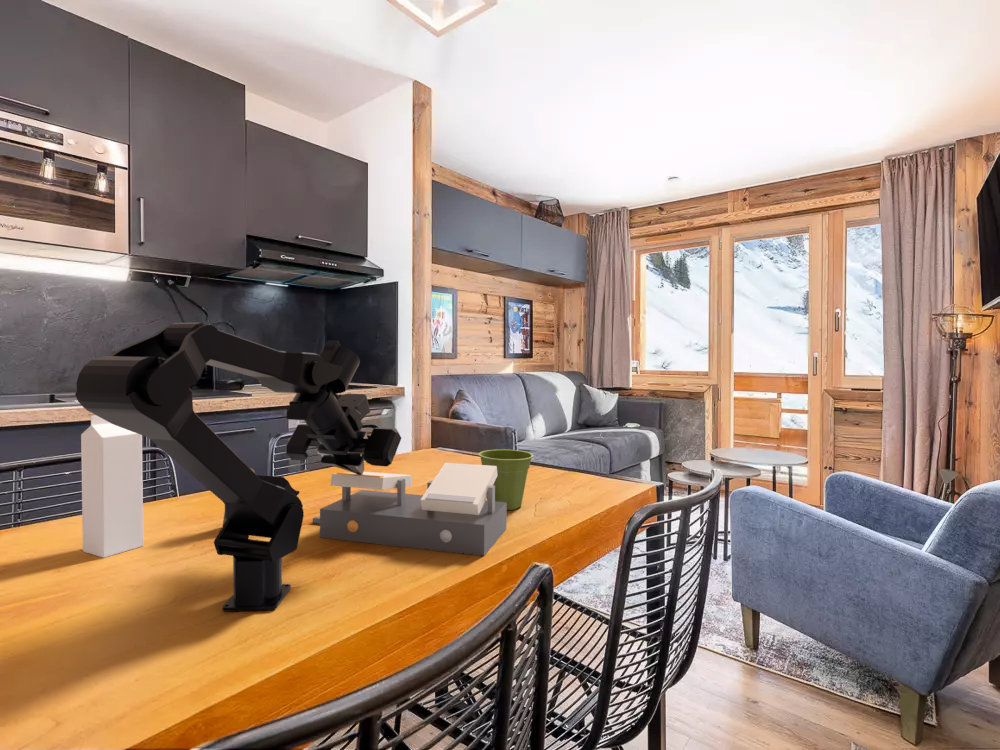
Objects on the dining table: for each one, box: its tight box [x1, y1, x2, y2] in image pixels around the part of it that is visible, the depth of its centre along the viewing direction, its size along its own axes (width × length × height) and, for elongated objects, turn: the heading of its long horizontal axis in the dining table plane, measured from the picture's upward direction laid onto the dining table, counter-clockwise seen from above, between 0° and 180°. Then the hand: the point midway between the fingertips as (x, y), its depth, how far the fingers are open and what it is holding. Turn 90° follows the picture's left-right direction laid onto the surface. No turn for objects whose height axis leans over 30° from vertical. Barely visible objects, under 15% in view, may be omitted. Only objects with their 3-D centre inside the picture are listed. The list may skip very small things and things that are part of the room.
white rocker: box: [421, 462, 498, 515], centre depth 93 cm, size 12×10×2 cm
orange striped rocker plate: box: [330, 471, 413, 491], centre depth 97 cm, size 12×10×2 cm
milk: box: [80, 414, 144, 559], centre depth 86 cm, size 6×6×22 cm
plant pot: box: [478, 449, 534, 511], centre depth 113 cm, size 12×12×11 cm
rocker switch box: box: [312, 478, 508, 557], centre depth 96 cm, size 14×36×10 cm, turn 75°
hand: (361, 472), depth 93 cm, fingers closed, pressing on orange striped rocker plate
